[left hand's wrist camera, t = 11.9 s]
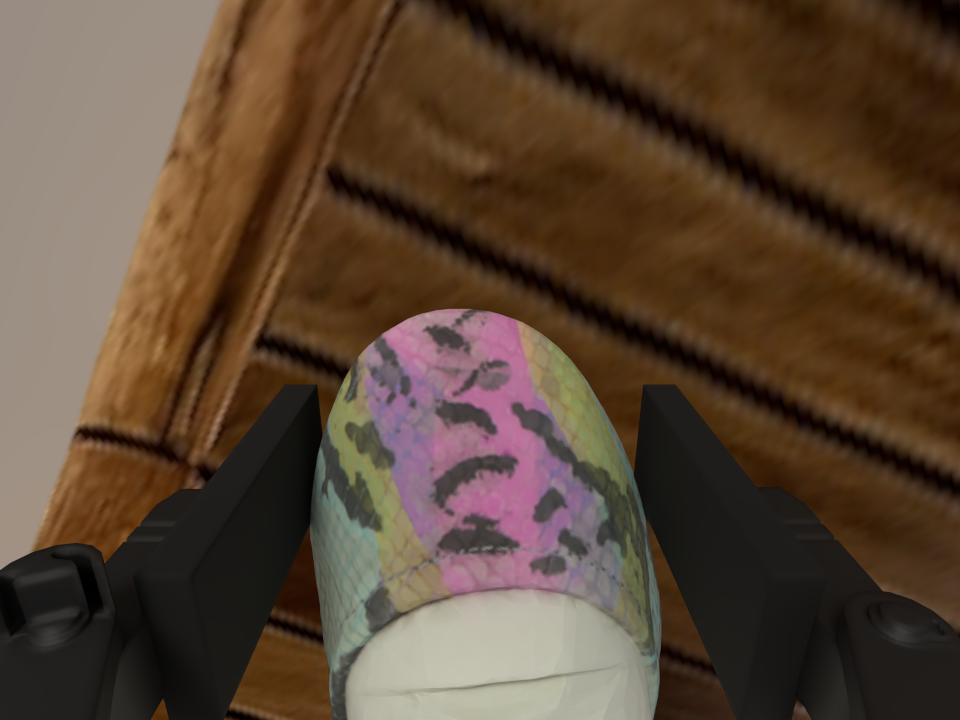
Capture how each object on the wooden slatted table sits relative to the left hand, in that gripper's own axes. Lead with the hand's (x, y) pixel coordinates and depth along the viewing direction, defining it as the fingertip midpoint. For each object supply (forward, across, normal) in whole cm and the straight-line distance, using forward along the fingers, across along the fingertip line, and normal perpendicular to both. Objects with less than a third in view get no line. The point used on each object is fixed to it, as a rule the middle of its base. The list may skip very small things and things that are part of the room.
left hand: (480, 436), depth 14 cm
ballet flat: (+1, 0, -9) cm, 9 cm away
